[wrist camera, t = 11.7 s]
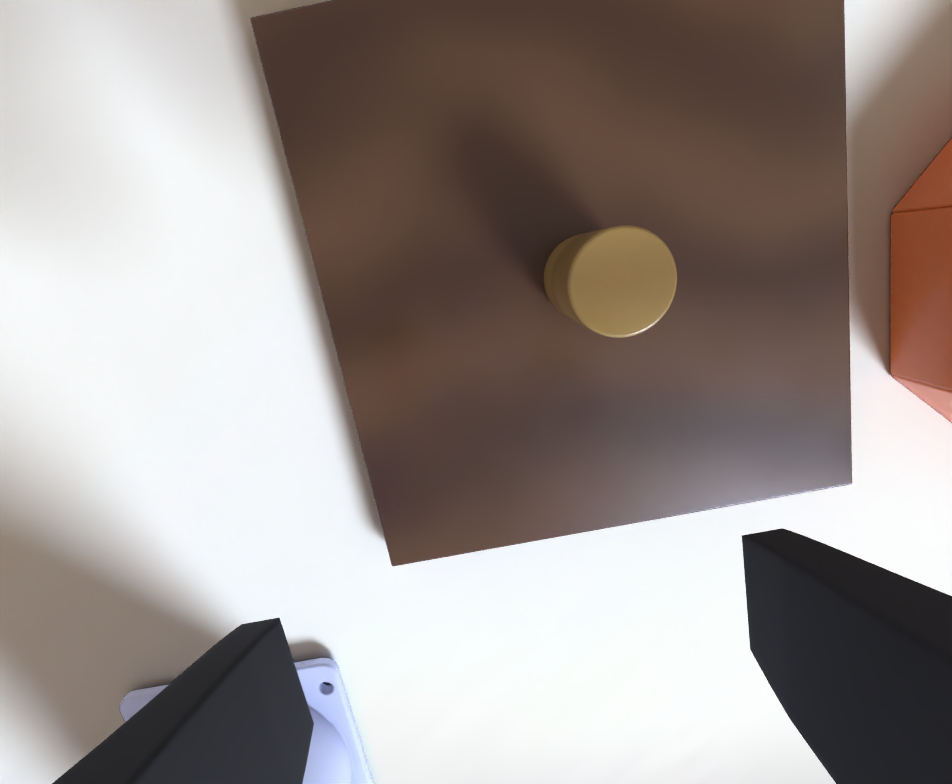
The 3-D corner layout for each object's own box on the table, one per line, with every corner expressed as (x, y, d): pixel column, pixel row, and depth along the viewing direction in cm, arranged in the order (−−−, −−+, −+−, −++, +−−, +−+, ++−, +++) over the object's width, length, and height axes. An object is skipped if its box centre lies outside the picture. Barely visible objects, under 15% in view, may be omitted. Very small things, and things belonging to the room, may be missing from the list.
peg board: (832, 472, 18) (961, 548, 13) (396, 551, 18) (370, 651, 14) (817, -86, 14) (994, -260, 9) (263, 33, 14) (165, -76, 10)
